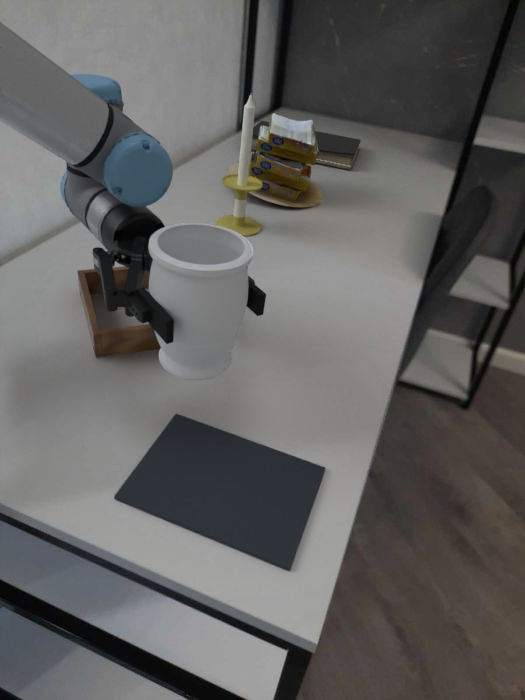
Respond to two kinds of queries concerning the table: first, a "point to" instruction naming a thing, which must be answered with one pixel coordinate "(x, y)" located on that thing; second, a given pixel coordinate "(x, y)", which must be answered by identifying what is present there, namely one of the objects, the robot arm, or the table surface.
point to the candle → (243, 181)
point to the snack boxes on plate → (285, 162)
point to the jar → (199, 295)
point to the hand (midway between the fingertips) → (218, 318)
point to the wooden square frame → (119, 337)
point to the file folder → (326, 147)
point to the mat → (226, 489)
